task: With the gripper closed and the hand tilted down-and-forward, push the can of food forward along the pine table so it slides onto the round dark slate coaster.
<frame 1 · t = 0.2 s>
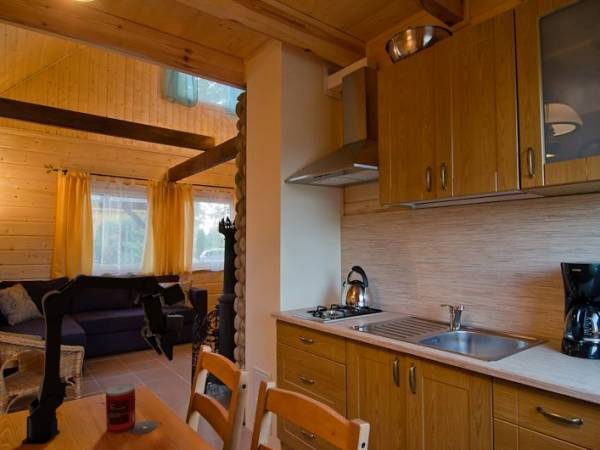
hand: (165, 357, 126), 15 cm above the table, tool pointing down, fingers open, 9 cm apart
coaster: (143, 427, 110), on the table
canned food: (121, 427, 110), on the table, touching coaster
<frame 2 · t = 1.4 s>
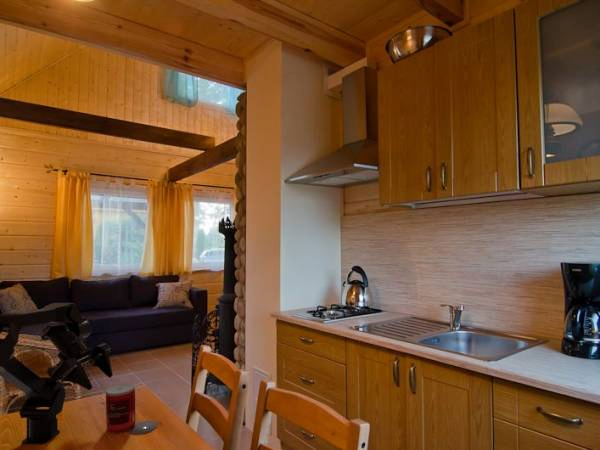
hand: (101, 382, 111), 13 cm above the table, tool tilted 45°, fingers open, 9 cm apart
nothing on the table moved.
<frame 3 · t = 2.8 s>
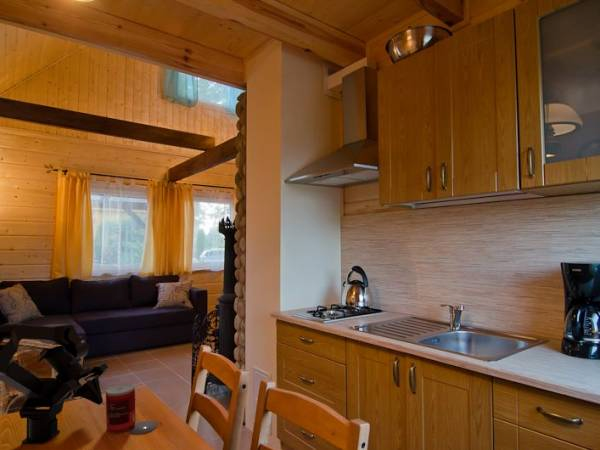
hand: (101, 403, 111), 7 cm above the table, tool tilted 45°, fingers closed
nothing on the table moved.
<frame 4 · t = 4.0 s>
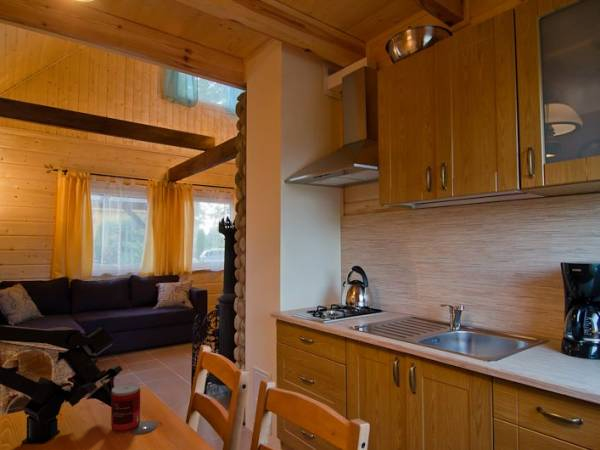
hand: (114, 406, 112), 5 cm above the table, tool tilted 40°, fingers closed
canned food: (125, 426, 110), on the table, touching gripper
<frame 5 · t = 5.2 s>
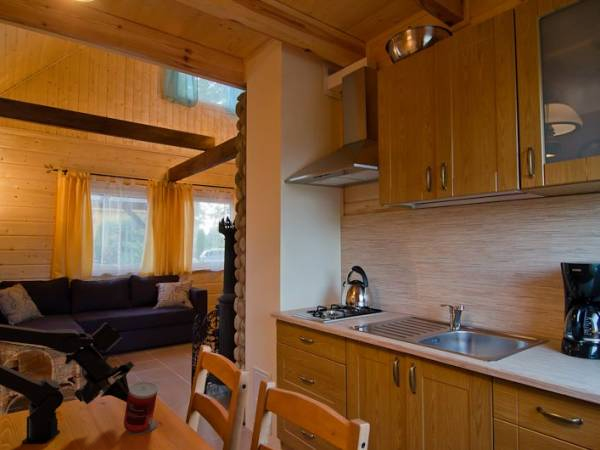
hand: (130, 401, 111), 7 cm above the table, tool tilted 45°, fingers closed
canned food: (137, 425, 109), point 1 cm above the table, touching coaster, gripper
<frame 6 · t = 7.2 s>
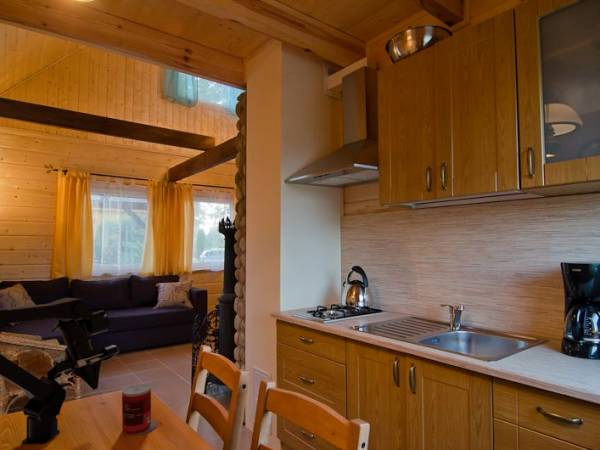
hand: (95, 389, 109), 12 cm above the table, tool tilted 30°, fingers closed
canned food: (136, 428, 109), on the table, touching coaster
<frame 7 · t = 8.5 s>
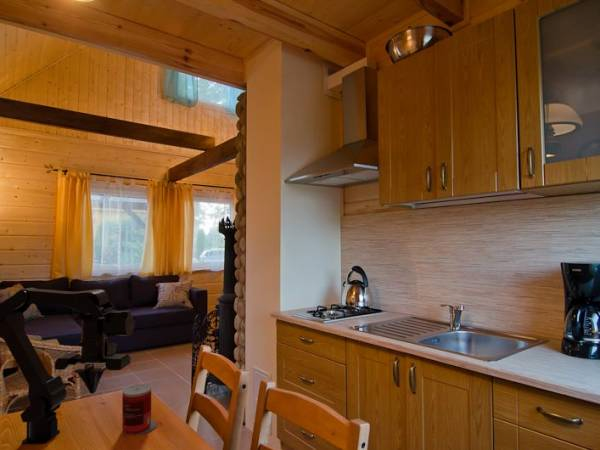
hand: (92, 393, 105), 12 cm above the table, tool pointing down, fingers closed
nothing on the table moved.
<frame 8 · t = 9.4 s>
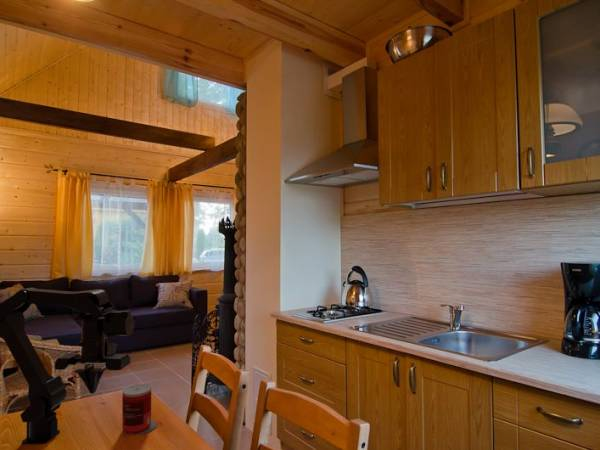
hand: (92, 393, 105), 12 cm above the table, tool pointing down, fingers closed
nothing on the table moved.
at the end: canned food 1.7 cm from the coaster (horizontally); canned food tilted 0° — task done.
